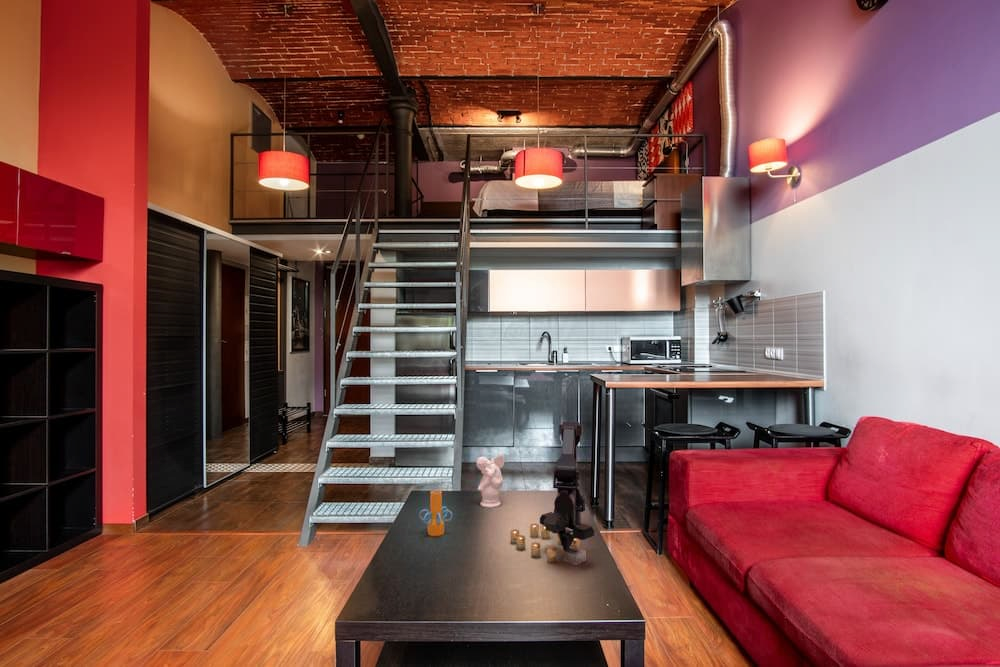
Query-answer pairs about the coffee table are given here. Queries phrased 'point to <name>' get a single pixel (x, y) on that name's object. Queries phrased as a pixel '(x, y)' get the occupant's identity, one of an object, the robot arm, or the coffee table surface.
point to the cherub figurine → (490, 480)
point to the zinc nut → (574, 555)
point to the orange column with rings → (436, 514)
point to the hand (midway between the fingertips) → (565, 552)
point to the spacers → (535, 546)
